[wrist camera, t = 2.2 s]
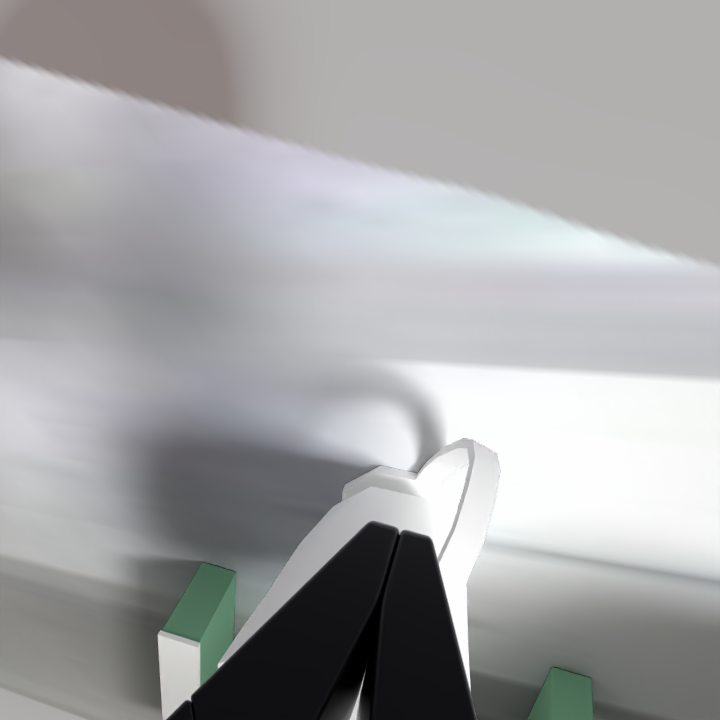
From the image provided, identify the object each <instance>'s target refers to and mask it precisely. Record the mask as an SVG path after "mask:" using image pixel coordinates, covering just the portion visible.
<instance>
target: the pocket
mask: <svg viewBox="0 0 720 720" xmlns="http://www.w3.org/2000/svg"><path fill="white" fill-rule="evenodd" d="M235 587H236V572H233V571H230V570H227V569H223V568H220V567H217V566H213V565H210V564H207V563H203V562H202V564H201V565H200V567H199V569H198V570H197V572H196V574H195V575H194V577H193V579H192V581H191V582H190V584H189V586H188V587H187V589H186V591H185V592H184V594H183V596H182V598H181V599H180V601H179V603H178V604H177V606H176V608H175V610H174V611H173V613H172V615H171V616H170V618H169V620H168V621H167V623H166V625H165V627H164V628H163V630H162V631H161V630H160V632H159V633H158V649H159V666H160V683H161V700H162V717H163V720H166V719H167V718H168V717H169V716H170V715H171V714H172V713H173V712H174V711H175V710H176V709H177V708H178V707H179V706H180V705H181V704H182V703H183V702H184V701H186V700H189V701H191V695H192V694H193V693H194V692H195V691H196V690H197V689H198V688H199V687H200V686H201V685H202V684H203V683H204V682H205V681H206V680H207V679H208V678H209V677H210V676H211V675H212V674H213V673H214V672H215V671H216V670H217V669H218V663H219V661H220V660H221V658H222V657H223V655H224V654H225V652H226V651H227V649H228V648H229V647H230V645H231V644H232V642H233V638H234V612H235ZM527 720H593V702H592V682H591V678H588V677H584V676H581V675H578V674H574V673H571V672H568V671H564V670H561V669H558V668H554V667H552V668H551V670H550V672H549V674H548V676H547V678H546V680H545V683H544V685H543V687H542V689H541V691H540V693H539V695H538V697H537V699H536V702H535V704H534V706H533V708H532V710H531V712H530V714H529V716H528V718H527Z"/></svg>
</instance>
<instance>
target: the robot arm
mask: <svg viewBox="0 0 720 720" xmlns="http://www.w3.org/2000/svg"><path fill="white" fill-rule="evenodd" d="M399 533H400V535H399ZM363 678H364V680H363ZM362 682H363V684H362ZM361 685H362V689H361V693H360V699H359V705H358V711H357V717H356V720H478V719H477V715H476V711H475V707H474V703H473V699H472V695H471V691H470V687H469V683H468V679H467V675H466V671H465V667H464V663H463V659H462V655H461V651H460V647H459V643H458V639H457V635H456V631H455V627H454V623H453V619H452V615H451V611H450V607H449V603H448V599H447V595H446V591H445V587H444V583H443V579H442V575H441V571H440V567H439V563H438V559H437V555H436V551H435V547H434V543H433V541H432V539H431V538H430V537H429V536H427V535H423V534H420V533H416V532H413V531H409V530H402V531H401V532H399V529H398V528H397V527H395V526H391V525H388V524H384V523H381V522H377V521H370V522H368V523H367V524H366V525H365V526H363V527H362V528H361V529H360V530H359V531H358V532H357V533H356V534H355V535H354V536H353V537H352V538H351V539H350V540H349V541H348V542H347V543H346V544H345V545H344V546H343V547H342V548H341V549H340V550H339V551H338V552H337V553H336V554H335V555H334V556H333V557H332V558H331V559H330V560H329V561H328V562H327V563H326V564H325V565H324V566H323V567H322V568H321V569H320V570H319V571H318V572H316V573H315V574H314V575H313V576H312V577H311V578H310V579H309V580H308V581H307V582H306V583H305V584H304V585H303V586H302V587H301V588H300V589H299V590H298V591H297V592H296V593H295V594H294V595H293V596H292V597H291V598H290V599H289V600H288V601H287V602H286V603H285V604H284V605H283V606H282V607H281V608H280V609H279V610H278V611H277V612H276V613H275V614H274V615H273V616H272V617H270V618H269V619H268V620H267V621H266V622H265V623H264V624H263V625H262V626H261V627H260V628H259V629H258V630H257V631H256V632H255V633H254V634H253V635H252V636H251V637H250V638H249V639H248V640H247V641H246V642H245V643H244V644H243V645H242V646H241V647H240V648H239V649H238V650H237V651H236V652H235V653H234V654H233V655H232V656H231V657H230V658H229V659H228V660H227V661H226V662H224V663H223V664H222V665H221V666H220V667H219V668H218V669H217V670H216V671H215V672H214V673H213V674H212V675H211V676H210V677H209V678H208V679H207V680H206V681H205V682H204V683H203V684H202V685H201V686H200V687H199V688H198V689H197V690H196V691H195V692H194V693H193V694H192V695H191V701H189V700H186V701H184V702H183V703H182V704H181V705H180V706H179V707H178V708H177V709H176V710H175V711H174V712H173V713H172V714H171V715H170V716H169V717H168V718H167V719H166V720H350V717H351V715H352V712H353V709H354V706H355V704H356V701H357V698H358V695H359V692H360V688H361Z"/></svg>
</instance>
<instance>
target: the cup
mask: <svg viewBox="0 0 720 720" xmlns="http://www.w3.org/2000/svg"><path fill="white" fill-rule="evenodd" d="M466 465H469V468H468V472H467V476H466V481H465V485H464V489H463V493H462V496H461V499H460V503H459V506H458V508H457V506H456V505H455V504H454V503H453V502H452V501H451V500H450V499H449V497H448V496H447V495H446V494H445V493H444V492H443V491H442V490H441V489H440V487H439V485H440V484H441V483H442V482H443V480H444V479H445V478H447V477H448V476H449V475H451V474H452V473H453V472H455V471H456V470H457V469H459V468H461V467H464V466H466ZM499 477H500V465H499V460H498V455H497V453H496V452H494V451H492V450H490V449H489V448H487V447H485V446H483V445H481V444H480V443H478V442H476V441H474V440H471V439H466V438H463V439H461V440H458V441H456V442H454V443H452V444H450V445H448V446H446V447H444V448H443V449H441V450H440V451H438V452H437V453H436V454H435V455H434V456H432V457H431V458H430V459H429V460H428V461H427V462H426V463H425V464H424V466H423V467H422V468H421V470H420V471H419V472H418V473H413V472H409V471H404V470H399V469H395V468H390V467H385V466H379V467H377V468H375V469H373V470H371V471H369V472H367V473H365V474H364V475H362V476H360V477H358V478H356V479H354V480H352V481H350V482H349V483H347V484H345V486H344V489H343V491H342V502H340V503H338V504H336V505H334V506H333V507H332V508H331V509H330V510H329V511H328V513H327V514H326V515H325V516H324V517H323V518H322V519H321V520H320V521H319V523H318V524H317V525H316V526H315V527H314V528H313V529H312V530H311V531H310V533H309V534H308V535H307V536H306V537H305V538H304V539H303V540H302V542H301V543H300V544H299V545H298V547H297V548H296V550H295V551H294V553H293V554H292V556H291V557H290V559H289V560H288V562H287V563H286V565H285V566H284V568H283V569H282V571H281V572H280V574H279V575H278V577H277V578H276V580H275V581H274V583H273V584H272V586H271V587H270V589H269V590H268V592H267V593H266V595H265V596H264V598H263V599H262V601H261V602H260V603H259V605H258V606H257V608H256V609H255V610H254V612H253V613H252V615H251V616H250V617H249V619H248V620H247V622H246V623H245V625H244V626H243V627H242V629H241V630H240V632H239V633H238V635H237V636H236V638H235V639H234V641H233V642H232V644H231V645H230V647H229V648H228V649H227V651H226V652H225V654H224V655H223V657H222V658H221V660H220V661H219V663H218V668H219V667H220V666H221V665H222V664H223V663H224V662H226V661H227V660H228V659H229V658H230V657H231V656H232V655H233V654H234V653H235V652H236V651H237V650H238V649H239V648H240V647H241V646H242V645H243V644H244V643H245V642H246V641H247V640H248V639H249V638H250V637H251V636H252V635H253V634H254V633H255V632H256V631H257V630H258V629H259V628H260V627H261V626H262V625H263V624H264V623H265V622H266V621H267V620H268V619H269V618H270V617H272V616H273V615H274V614H275V613H276V612H277V611H278V610H279V609H280V608H281V607H282V606H283V605H284V604H285V603H286V602H287V601H288V600H289V599H290V598H291V597H292V596H293V595H294V594H295V593H296V592H297V591H298V590H299V589H300V588H301V587H302V586H303V585H304V584H305V583H306V582H307V581H308V580H309V579H310V578H311V577H312V576H313V575H314V574H315V573H316V572H318V571H319V570H320V569H321V568H322V567H323V566H324V565H325V564H326V563H327V562H328V561H329V560H330V559H331V558H332V557H333V556H334V555H335V554H336V553H337V552H338V551H339V550H340V549H341V548H342V547H343V546H344V545H345V544H346V543H347V542H348V541H349V540H350V539H351V538H352V537H353V536H354V535H355V534H356V533H357V532H358V531H359V530H360V529H361V528H362V527H363V526H365V525H366V524H367V523H368V522H370V521H377V522H381V523H384V524H388V525H391V526H395V527H397V528H398V529H399V532H401V531H402V530H409V531H413V532H416V533H420V534H423V535H427V536H429V537H430V538H431V539H432V541H433V543H434V547H435V551H436V555H437V559H438V563H439V567H440V571H441V575H442V579H443V583H444V587H445V591H446V595H447V599H448V603H449V607H450V611H451V615H452V619H453V623H454V627H455V631H456V635H457V639H458V643H459V647H460V651H461V655H462V659H463V663H464V667H465V671H466V675H467V679H468V683H469V687H470V691H471V685H470V668H469V651H468V621H467V588H466V582H467V580H468V578H469V575H470V573H471V571H472V569H473V567H474V564H475V562H476V560H477V558H478V555H479V553H480V551H481V549H482V546H483V544H484V541H485V537H486V534H487V530H488V526H489V522H490V519H491V515H492V511H493V508H494V504H495V500H496V494H497V489H498V483H499ZM399 535H400V533H399ZM363 680H364V678H363ZM362 684H363V682H362ZM361 689H362V685H361V688H360V692H359V695H358V698H357V701H356V704H355V706H354V709H353V712H352V715H351V717H350V720H356V717H357V711H358V705H359V699H360V693H361Z"/></svg>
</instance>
